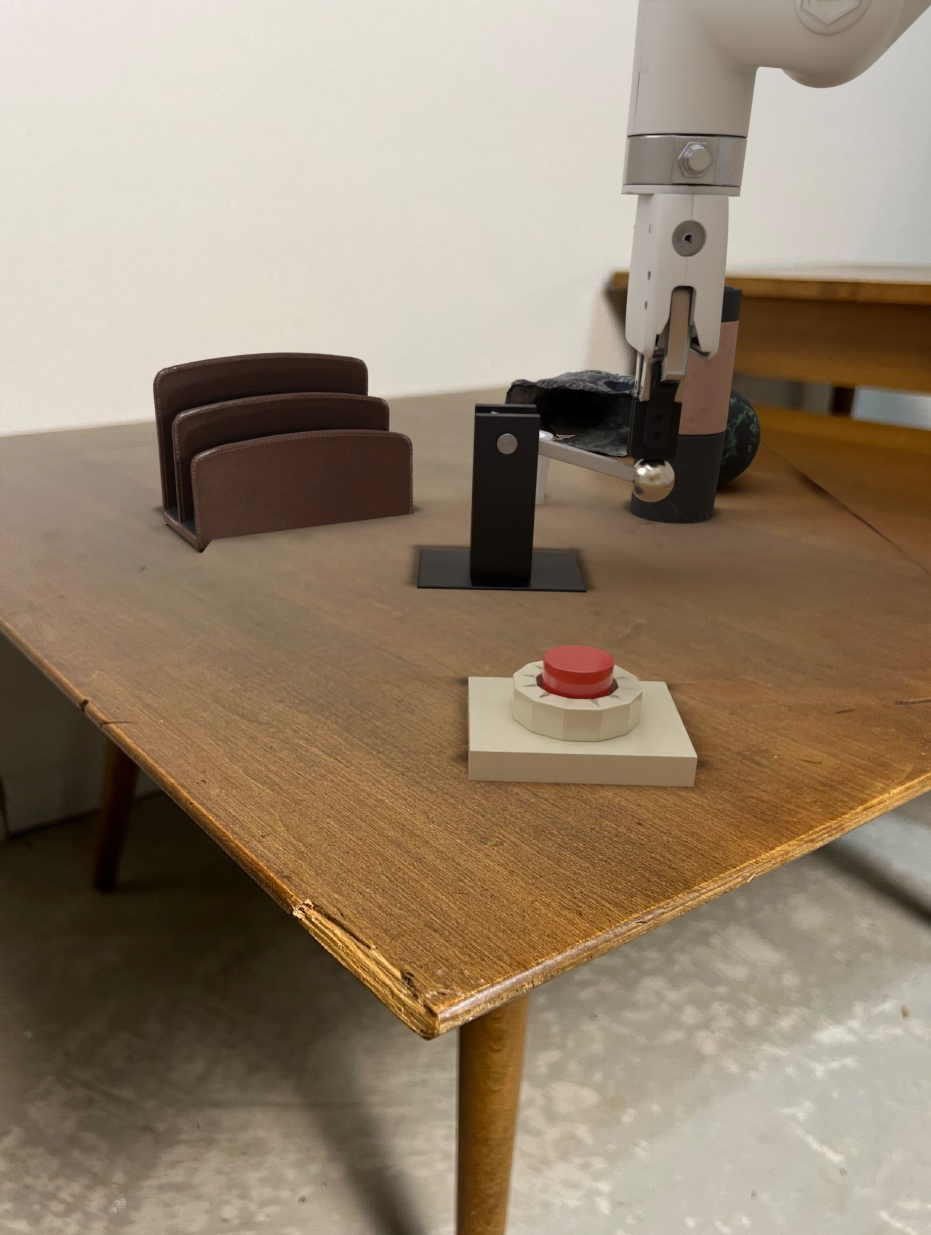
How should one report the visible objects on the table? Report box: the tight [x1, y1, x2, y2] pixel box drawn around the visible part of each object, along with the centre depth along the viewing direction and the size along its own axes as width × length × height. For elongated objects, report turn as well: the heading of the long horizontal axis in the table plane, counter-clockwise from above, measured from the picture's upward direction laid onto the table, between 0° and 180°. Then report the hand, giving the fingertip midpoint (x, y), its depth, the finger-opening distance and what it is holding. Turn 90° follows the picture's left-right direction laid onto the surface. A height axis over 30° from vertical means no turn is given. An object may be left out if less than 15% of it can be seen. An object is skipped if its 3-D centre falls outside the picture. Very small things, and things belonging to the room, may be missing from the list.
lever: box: [491, 412, 675, 502], centre depth 76 cm, size 14×3×3 cm, turn 88°
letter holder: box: [152, 351, 415, 552], centre depth 91 cm, size 10×20×14 cm, turn 118°
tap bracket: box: [416, 403, 587, 594], centre depth 78 cm, size 12×9×13 cm
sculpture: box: [504, 369, 636, 457], centre depth 135 cm, size 8×16×30 cm
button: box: [541, 644, 615, 699], centre depth 55 cm, size 4×4×2 cm
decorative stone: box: [717, 388, 762, 487], centre depth 108 cm, size 10×10×10 cm
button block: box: [466, 659, 699, 788], centre depth 56 cm, size 11×9×4 cm
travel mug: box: [630, 285, 744, 525], centre depth 92 cm, size 8×8×20 cm
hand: (650, 456), depth 76 cm, fingers closed
